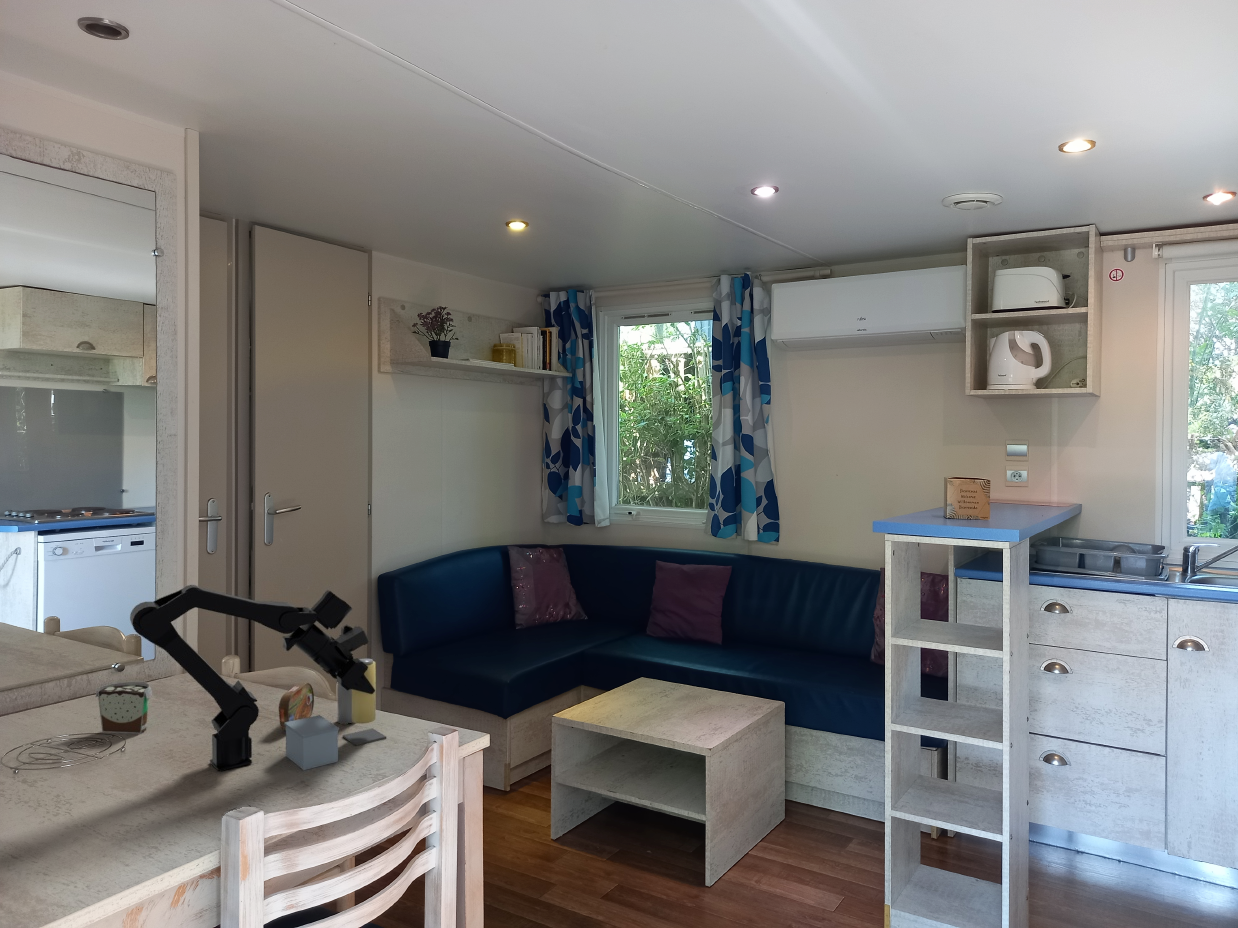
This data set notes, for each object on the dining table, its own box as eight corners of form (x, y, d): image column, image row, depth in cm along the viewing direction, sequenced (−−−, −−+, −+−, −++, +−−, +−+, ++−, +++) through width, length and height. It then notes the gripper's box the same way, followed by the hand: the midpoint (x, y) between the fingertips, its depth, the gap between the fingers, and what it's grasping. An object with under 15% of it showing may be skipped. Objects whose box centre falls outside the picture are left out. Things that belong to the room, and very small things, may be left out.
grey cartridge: (342, 725, 196) (342, 684, 196) (334, 720, 200) (333, 679, 200) (363, 721, 199) (363, 680, 199) (354, 715, 203) (354, 675, 203)
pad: (355, 745, 183) (355, 743, 183) (342, 736, 189) (342, 735, 189) (386, 738, 188) (386, 736, 188) (372, 729, 193) (372, 728, 193)
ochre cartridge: (357, 724, 185) (357, 664, 184) (348, 719, 188) (348, 660, 188) (379, 720, 188) (379, 661, 188) (369, 714, 192) (369, 656, 191)
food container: (164, 724, 197) (164, 681, 196) (147, 733, 191) (146, 689, 190) (114, 722, 198) (114, 680, 198) (95, 731, 192) (95, 687, 192)
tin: (290, 734, 190) (289, 697, 190) (276, 734, 190) (275, 697, 190) (315, 713, 205) (315, 678, 205) (302, 713, 205) (302, 678, 205)
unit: (303, 770, 170) (302, 735, 169) (284, 755, 178) (284, 722, 177) (339, 761, 174) (339, 727, 174) (319, 747, 182) (319, 714, 182)
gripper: (358, 624, 178) (409, 669, 184) (333, 609, 193) (381, 651, 200) (319, 667, 173) (373, 711, 180) (297, 648, 189) (348, 690, 195)
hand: (369, 689), depth 189 cm, fingers closed on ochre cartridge, 5 cm apart
